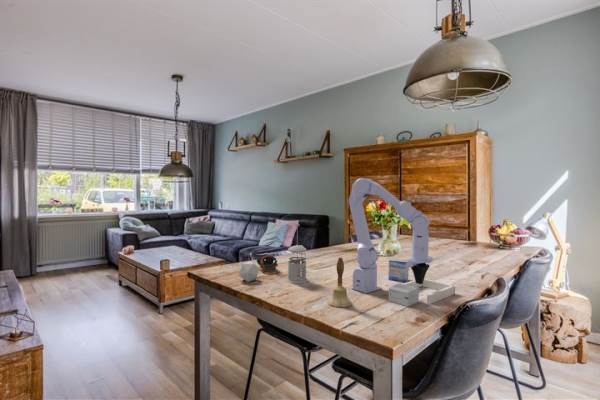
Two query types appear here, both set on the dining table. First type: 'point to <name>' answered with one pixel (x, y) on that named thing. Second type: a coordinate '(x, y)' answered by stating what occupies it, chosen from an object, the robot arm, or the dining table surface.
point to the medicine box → (398, 270)
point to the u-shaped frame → (443, 289)
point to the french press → (297, 265)
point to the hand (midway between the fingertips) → (419, 283)
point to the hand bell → (339, 289)
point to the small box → (404, 294)
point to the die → (248, 271)
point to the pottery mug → (267, 263)
